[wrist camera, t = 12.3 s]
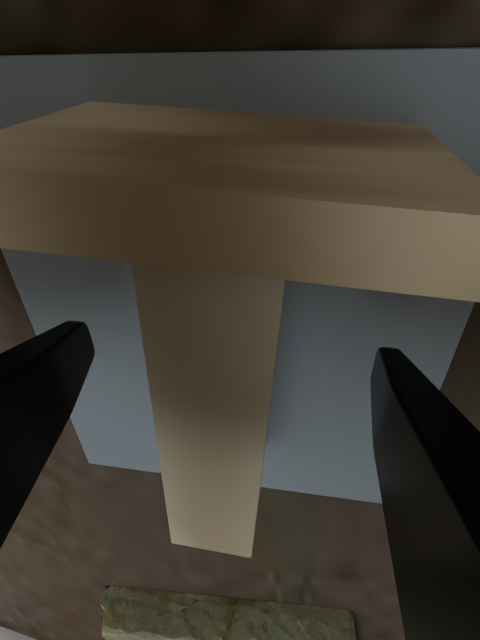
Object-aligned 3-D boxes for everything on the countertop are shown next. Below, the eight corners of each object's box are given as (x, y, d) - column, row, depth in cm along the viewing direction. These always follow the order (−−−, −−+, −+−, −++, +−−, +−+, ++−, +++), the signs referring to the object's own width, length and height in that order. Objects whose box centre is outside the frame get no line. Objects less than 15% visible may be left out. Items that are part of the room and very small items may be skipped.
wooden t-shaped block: (421, 124, 8) (525, 220, 4) (328, 453, 14) (331, 614, 10) (90, 101, 9) (-105, 161, 5) (144, 424, 15) (82, 564, 11)
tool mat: (559, 45, 7) (576, 46, 7) (392, 491, 16) (394, 505, 16) (-58, 56, 9) (-78, 58, 9) (95, 451, 18) (89, 463, 18)
